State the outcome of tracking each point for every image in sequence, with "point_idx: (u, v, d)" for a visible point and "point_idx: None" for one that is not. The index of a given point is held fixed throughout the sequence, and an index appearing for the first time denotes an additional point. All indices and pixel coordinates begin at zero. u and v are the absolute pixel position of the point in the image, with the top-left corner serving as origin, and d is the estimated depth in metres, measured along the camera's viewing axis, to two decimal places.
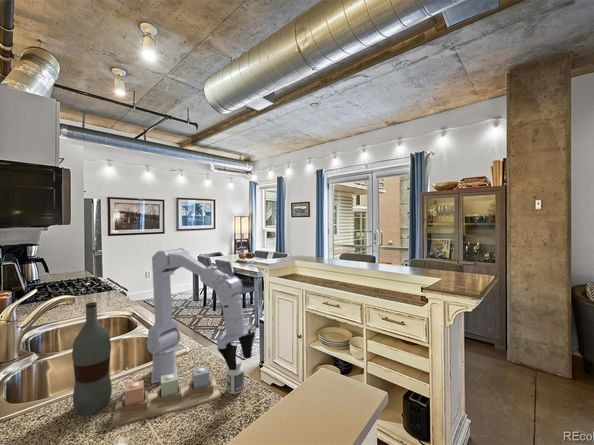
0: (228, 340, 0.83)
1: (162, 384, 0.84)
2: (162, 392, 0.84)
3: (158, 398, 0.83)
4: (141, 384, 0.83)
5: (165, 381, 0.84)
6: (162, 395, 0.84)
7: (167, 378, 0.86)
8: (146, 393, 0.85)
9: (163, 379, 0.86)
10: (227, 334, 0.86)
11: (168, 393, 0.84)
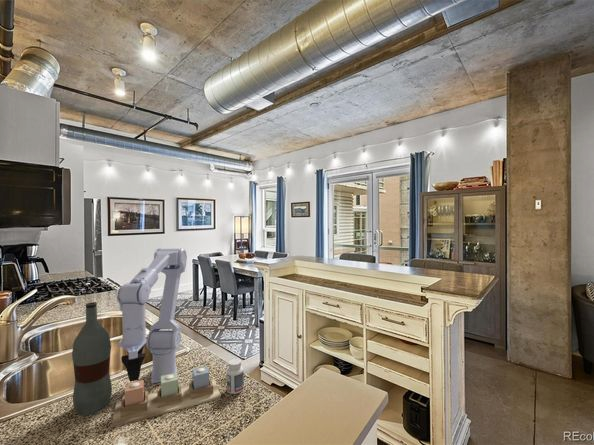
0: None
1: (162, 384, 0.84)
2: (162, 392, 0.84)
3: (158, 398, 0.83)
4: (141, 384, 0.83)
5: (165, 381, 0.84)
6: (162, 395, 0.84)
7: (167, 378, 0.86)
8: (146, 393, 0.85)
9: (163, 379, 0.86)
10: None
11: (168, 393, 0.84)
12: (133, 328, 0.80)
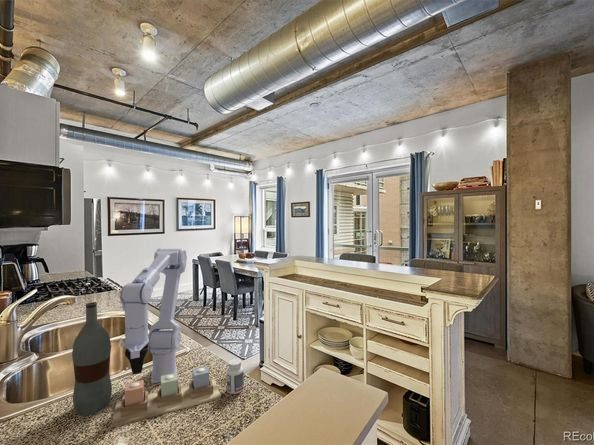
0: None
1: (162, 384, 0.84)
2: (162, 392, 0.84)
3: (158, 398, 0.83)
4: (141, 384, 0.83)
5: (165, 381, 0.84)
6: (162, 395, 0.84)
7: (167, 378, 0.86)
8: (146, 393, 0.85)
9: (163, 379, 0.86)
10: None
11: (168, 393, 0.84)
12: (135, 328, 0.80)
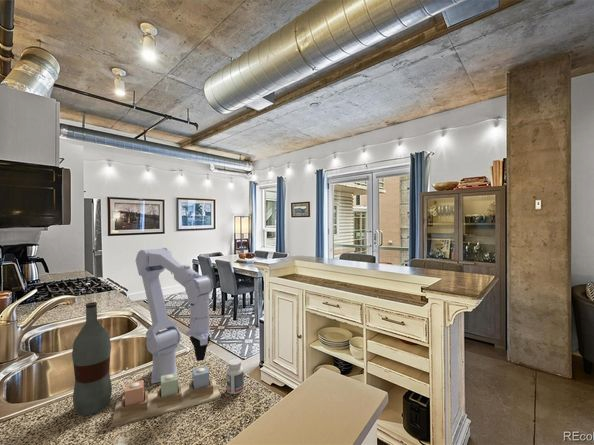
0: None
1: (162, 384, 0.84)
2: (162, 392, 0.84)
3: (158, 398, 0.83)
4: (141, 384, 0.83)
5: (165, 381, 0.84)
6: (162, 395, 0.84)
7: (167, 378, 0.86)
8: (146, 393, 0.85)
9: (163, 379, 0.86)
10: None
11: (168, 393, 0.84)
12: (201, 318, 0.88)
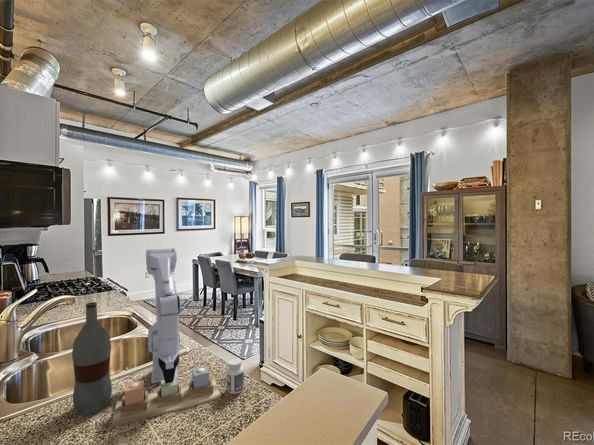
0: None
1: (162, 389, 0.84)
2: None
3: (158, 398, 0.83)
4: (141, 384, 0.83)
5: (165, 386, 0.84)
6: None
7: (167, 383, 0.86)
8: (146, 393, 0.85)
9: (163, 384, 0.86)
10: None
11: None
12: (168, 339, 0.84)
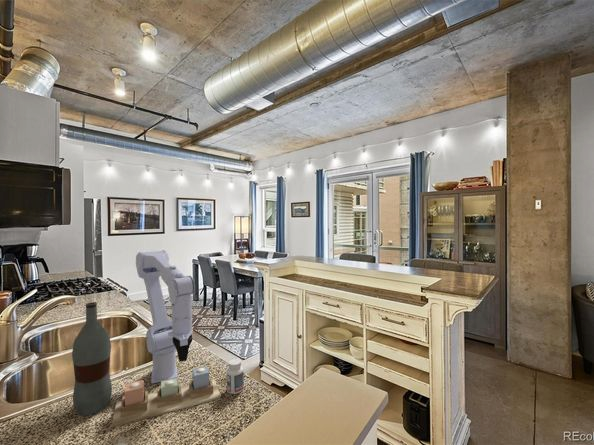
0: None
1: (162, 390, 0.84)
2: None
3: (158, 398, 0.83)
4: (141, 384, 0.83)
5: (165, 387, 0.84)
6: None
7: (167, 384, 0.86)
8: (146, 393, 0.85)
9: (163, 385, 0.86)
10: None
11: None
12: (182, 318, 0.87)
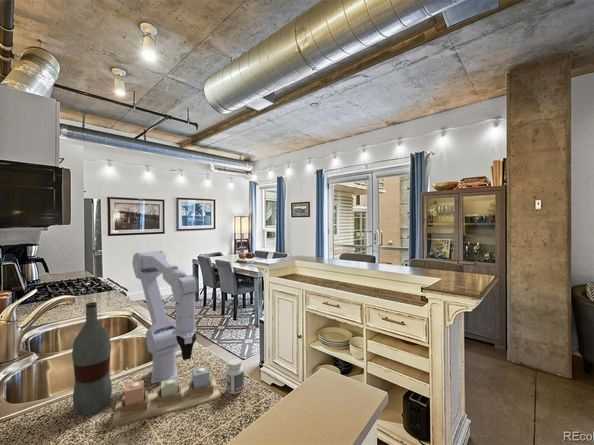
0: None
1: (162, 390, 0.84)
2: None
3: (158, 398, 0.83)
4: (141, 384, 0.83)
5: (165, 387, 0.84)
6: None
7: (167, 384, 0.86)
8: (146, 393, 0.85)
9: (163, 385, 0.86)
10: None
11: None
12: (186, 317, 0.88)
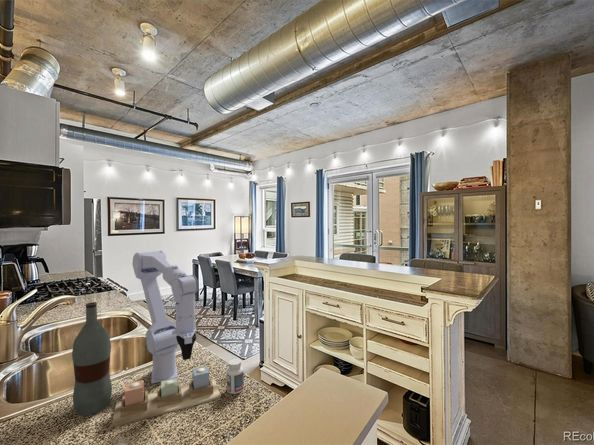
0: None
1: (162, 390, 0.84)
2: None
3: (158, 398, 0.83)
4: (141, 384, 0.83)
5: (165, 387, 0.84)
6: None
7: (167, 384, 0.86)
8: (146, 393, 0.85)
9: (163, 385, 0.86)
10: None
11: None
12: (186, 317, 0.88)
